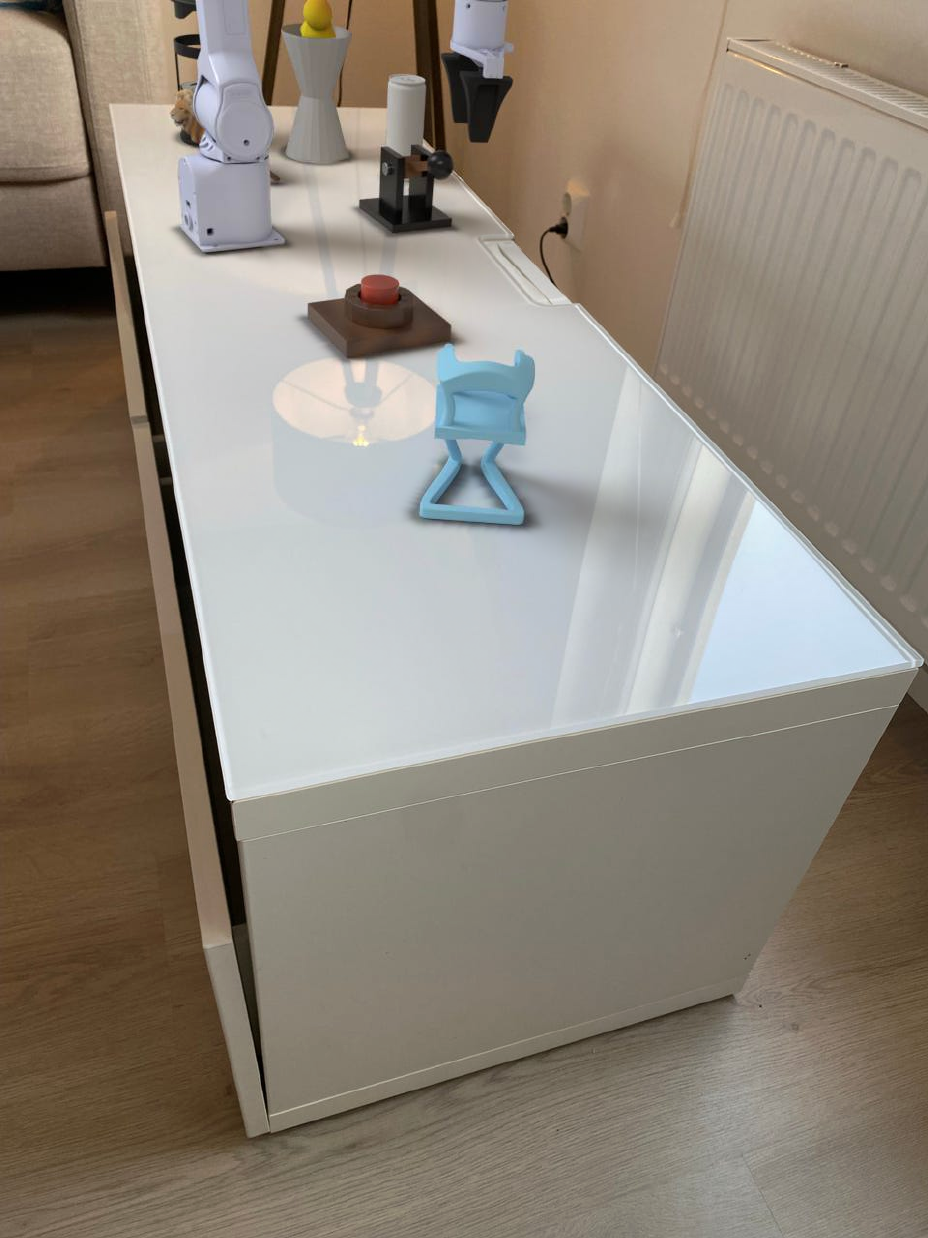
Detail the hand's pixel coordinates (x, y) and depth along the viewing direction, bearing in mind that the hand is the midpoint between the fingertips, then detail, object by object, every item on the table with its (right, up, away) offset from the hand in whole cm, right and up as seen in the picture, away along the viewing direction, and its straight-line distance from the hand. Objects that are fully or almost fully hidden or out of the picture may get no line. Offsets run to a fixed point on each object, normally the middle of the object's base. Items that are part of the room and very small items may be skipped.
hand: (470, 131), depth 117 cm
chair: (0, -47, -39) cm, 61 cm away
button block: (-9, -29, -19) cm, 36 cm away
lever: (-5, -6, -1) cm, 8 cm away
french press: (-35, +10, +23) cm, 44 cm away
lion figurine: (-31, 0, +12) cm, 34 cm away
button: (-9, -26, -21) cm, 35 cm away
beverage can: (-9, +2, +17) cm, 20 cm away
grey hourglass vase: (-21, +7, +22) cm, 31 cm away
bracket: (-8, -8, +5) cm, 12 cm away
